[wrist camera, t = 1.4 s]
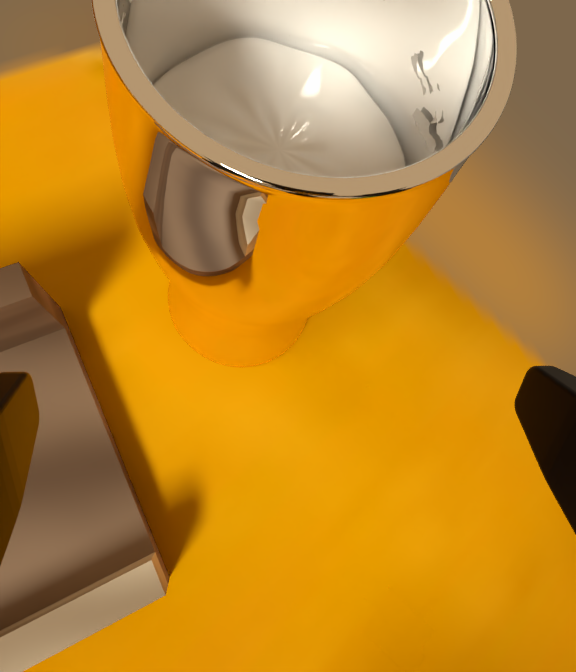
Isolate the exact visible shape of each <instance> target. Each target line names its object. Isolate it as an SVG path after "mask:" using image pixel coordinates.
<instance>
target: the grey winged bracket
mask: <svg viewBox="0 0 576 672" xmlns="http://www.w3.org/2000/svg"><path fill="white" fill-rule="evenodd" d="M1 372H27V373H29V374H30V375H31V377H32V380H33V384H34V389H35V394H36V398H37V403H38V408H39V427H38V431H37V436H36V440H35V445H34V450H33V454H32V459H31V464H30V468H29V473H28V477H27V482H26V487H25V491H24V496H23V500H22V504H21V508H20V511H19V514H18V517H17V520H16V523H15V526H14V529H13V532H12V535H11V538H10V540H9V543H8V546H7V549H6V552H5V555H4V558H3V560H2V563H1V566H0V672H23V671H24V670H26V669H28V668H30V667H32V666H34V665H36V664H38V663H39V662H41V661H43V660H45V659H47V658H49V657H51V656H53V655H54V654H56V653H58V652H60V651H62V650H64V649H66V648H68V647H69V646H71V645H73V644H75V643H77V642H79V641H81V640H82V639H84V638H86V637H88V636H90V635H92V634H94V633H96V632H97V631H99V630H101V629H103V628H105V627H107V626H109V625H111V624H112V623H114V622H116V621H118V620H120V619H122V618H124V617H125V616H127V615H129V614H131V613H133V612H135V611H137V610H139V609H140V608H142V607H144V606H146V605H148V604H150V603H152V602H154V601H155V600H157V599H159V598H161V597H163V596H165V595H166V591H167V587H168V582H169V578H170V577H169V575H168V572H167V570H166V567H165V565H164V562H163V560H162V557H161V555H160V553H159V550H158V548H157V545H156V543H155V540H154V538H153V535H152V533H151V530H150V528H149V525H148V523H147V520H146V518H145V515H144V513H143V510H142V508H141V506H140V503H139V501H138V498H137V496H136V493H135V491H134V488H133V486H132V483H131V481H130V478H129V476H128V473H127V471H126V468H125V466H124V463H123V461H122V459H121V456H120V454H119V451H118V449H117V446H116V444H115V441H114V439H113V436H112V434H111V431H110V429H109V426H108V424H107V421H106V419H105V416H104V414H103V412H102V409H101V407H100V404H99V402H98V399H97V397H96V394H95V392H94V389H93V387H92V384H91V382H90V379H89V377H88V374H87V372H86V369H85V367H84V364H83V362H82V360H81V357H80V355H79V352H78V350H77V347H76V345H75V342H74V340H73V337H72V335H71V332H70V330H69V327H68V325H67V322H66V320H65V317H64V315H63V313H62V310H61V308H60V307H59V305H58V304H57V303H56V302H55V301H54V300H53V299H52V298H51V297H50V296H49V295H48V294H47V293H46V291H45V290H44V289H43V288H42V287H41V286H40V285H39V284H38V283H37V282H36V281H35V280H34V278H33V277H32V276H31V275H30V274H29V273H28V272H27V271H26V270H25V269H24V268H23V267H22V265H21V264H20V263H19V262H18V263H15V264H12V265H9V266H6V267H3V268H0V373H1Z"/></svg>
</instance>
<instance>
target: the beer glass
mask: <svg viewBox="0 0 576 672" xmlns="http://www.w3.org/2000/svg"><path fill="white" fill-rule="evenodd" d="M91 3H92V10H93V15H94V20H95V24H96V28H97V32H98V35H99V38H100V44H101V51H102V59H103V68H104V77H105V87H106V94H107V101H108V108H109V115H110V122H111V129H112V136H113V141H114V146H115V151H116V155H117V160H118V165H119V169H120V174H121V178H122V182H123V186H124V189H125V193H126V196H127V198H128V201H129V204H130V207H131V210H132V213H133V216H134V219H135V222H136V224H137V227H138V229H139V231H140V234H141V236H142V238H143V240H144V241H145V243H146V245H147V246H148V248H149V250H150V252H151V253H152V255H153V257H154V259H155V260H156V262H157V264H158V265H159V267H160V268H161V270H162V271H163V273H164V274H165V275H166V276H167V278H168V279H169V280H170V282H169V288H168V305H169V311H170V315H171V318H172V321H173V323H174V326H175V328H176V330H177V331H178V333H179V334H180V336H181V337H182V338H183V339H184V341H185V342H186V343H187V344H188V345H189V346H190V347H191V348H192V349H193V350H195V351H196V352H197V353H199V354H200V355H201V356H203V357H205V358H207V359H208V360H211V361H213V362H216V363H219V364H222V365H226V366H233V367H249V366H256V365H260V364H263V363H266V362H269V361H271V360H273V359H275V358H277V357H278V356H280V355H281V354H283V353H284V352H285V351H287V350H288V349H289V348H290V347H291V346H292V345H293V344H294V343H295V341H296V340H297V339H298V337H299V336H300V334H301V333H302V331H303V329H304V327H305V325H306V322H307V319H308V317H311V316H313V315H315V314H318V313H320V312H322V311H323V310H325V309H327V308H329V307H330V306H332V305H334V304H335V303H337V302H339V301H340V300H342V299H344V298H345V297H347V296H349V295H350V294H351V293H353V292H354V291H356V290H357V289H358V288H359V287H361V286H362V285H363V284H364V283H365V282H366V281H367V280H368V279H369V278H371V277H372V276H373V275H374V274H375V273H376V272H377V271H378V270H379V269H380V268H382V267H383V266H384V265H385V264H386V263H387V262H388V261H389V260H390V259H391V258H392V256H393V255H394V254H395V253H396V252H397V251H398V250H399V248H400V247H401V246H402V245H403V244H404V243H405V241H406V240H407V239H408V238H409V237H410V236H411V235H412V233H413V232H414V231H415V230H416V229H417V227H418V226H419V225H420V224H421V222H422V221H423V219H424V218H425V217H426V215H427V214H428V213H429V211H430V210H431V209H432V207H433V206H434V205H435V203H436V202H437V201H438V199H439V198H440V197H441V195H442V194H443V193H444V191H445V190H446V188H447V187H448V185H449V184H450V182H451V181H452V180H453V178H454V177H455V175H456V174H457V172H458V171H459V170H460V168H461V167H462V166H463V164H464V163H465V162H466V160H467V159H468V158H469V156H470V155H471V154H472V153H473V152H474V151H475V150H476V149H477V148H478V147H479V146H480V145H481V144H482V143H483V142H484V140H485V139H486V138H487V137H488V135H489V134H490V133H491V131H492V130H493V128H494V127H495V125H496V124H497V122H498V120H499V118H500V116H501V114H502V112H503V110H504V108H505V106H506V103H507V101H508V98H509V95H510V92H511V89H512V85H513V80H514V76H515V69H516V59H517V46H516V45H517V41H516V31H515V23H514V18H513V13H512V9H511V5H510V2H509V0H91Z"/></svg>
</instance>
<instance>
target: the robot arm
mask: <svg viewBox="0 0 576 672" xmlns="http://www.w3.org/2000/svg"><path fill="white" fill-rule="evenodd" d="M515 411H516V414H517V416H518V418H519V420H520V423H521V425H522V427H523V430H524V432H525V434H526V437H527V439H528V441H529V444H530V446H531V448H532V450H533V453H534V455H535V457H536V460H537V462H538V464H539V467H540V469H541V471H542V473H543V475H544V478H545V480H546V482H547V483H548V485H549V487H550V489H551V491H552V493H553V495H554V496H555V498H556V500H557V502H558V504H559V505H560V507H561V509H562V511H563V513H564V514H565V516H566V518H567V520H568V522H569V523H570V525H571V527H572V529H573V531H574V532H575V534H576V377H575V376H573V375H571V374H569V373H567V372H565V371H563V370H560V369H558V368H556V367H554V366H533V367H531V368H530V369H529V370H528V371H527V372H526V375H525V377H524V379H523V382H522V384H521V386H520V389H519V391H518V394H517V396H516V399H515ZM38 427H39V408H38V403H37V398H36V394H35V389H34V384H33V380H32V377H31V375H30V374H29V373H27V372H1V373H0V566H1V563H2V560H3V558H4V555H5V552H6V549H7V546H8V543H9V540H10V538H11V535H12V532H13V529H14V526H15V523H16V520H17V517H18V514H19V511H20V508H21V504H22V500H23V496H24V491H25V487H26V482H27V477H28V473H29V468H30V464H31V459H32V454H33V450H34V445H35V440H36V436H37V431H38Z"/></svg>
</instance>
